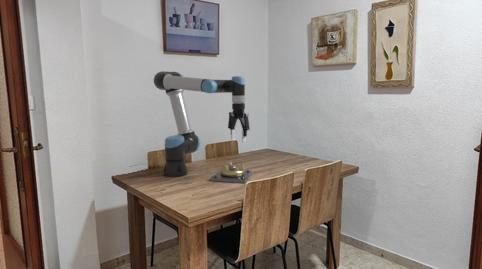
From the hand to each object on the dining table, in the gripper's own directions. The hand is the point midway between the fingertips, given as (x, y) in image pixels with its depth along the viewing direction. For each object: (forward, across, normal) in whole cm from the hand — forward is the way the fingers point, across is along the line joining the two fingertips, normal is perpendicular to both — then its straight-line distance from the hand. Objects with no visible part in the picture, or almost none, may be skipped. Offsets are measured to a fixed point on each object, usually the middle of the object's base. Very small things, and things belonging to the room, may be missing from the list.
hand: (238, 141), depth 204 cm
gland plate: (+21, 0, +6) cm, 22 cm away
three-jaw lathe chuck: (+19, 0, +5) cm, 20 cm away
